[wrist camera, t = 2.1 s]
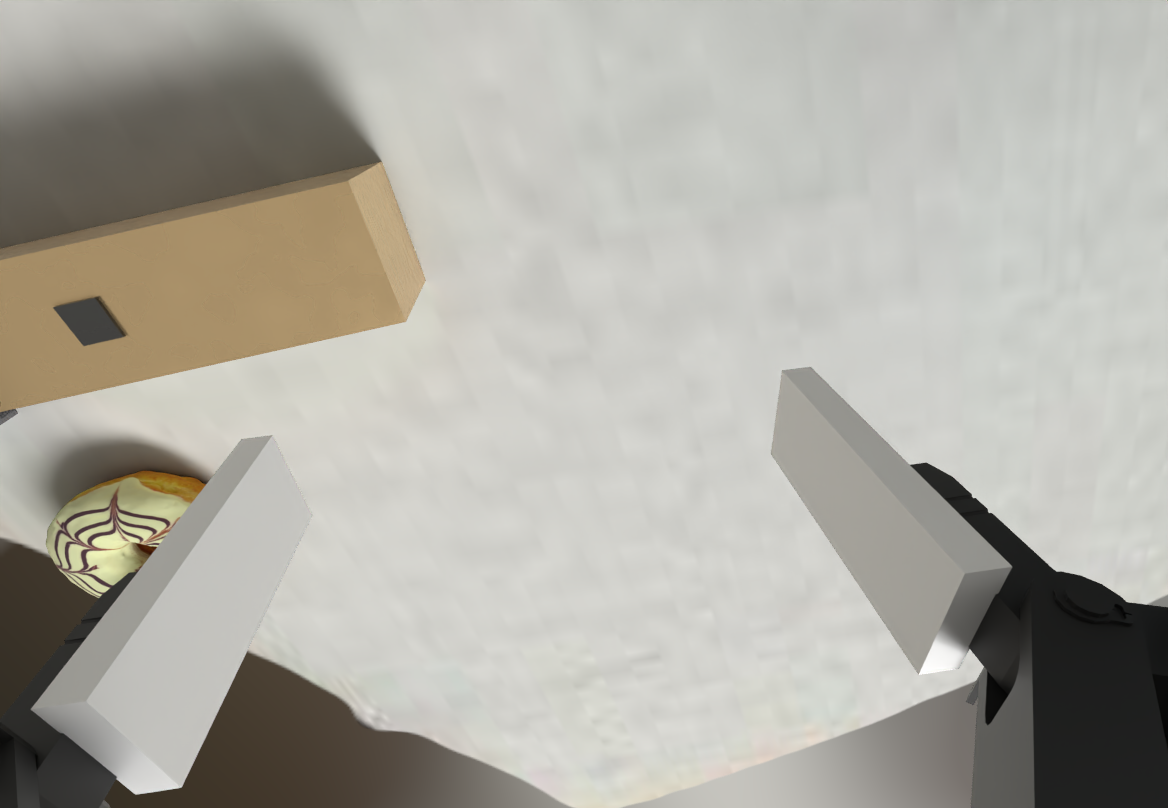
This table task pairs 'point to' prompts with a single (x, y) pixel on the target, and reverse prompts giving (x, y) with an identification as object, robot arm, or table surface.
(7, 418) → the grey cradle stand
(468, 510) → the table surface
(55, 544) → the decorated donut
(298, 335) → the tan wooden brick
